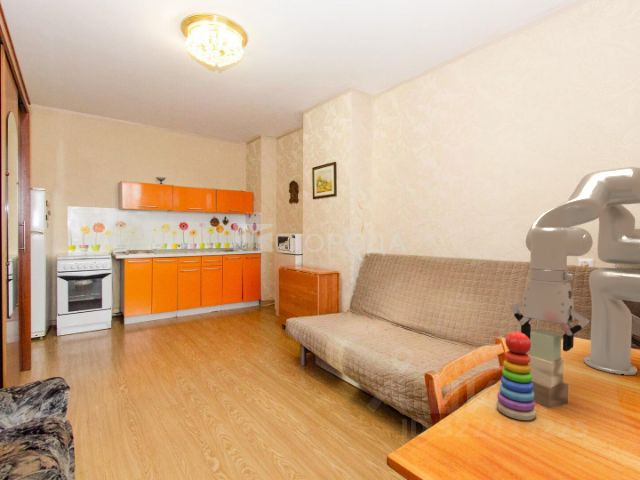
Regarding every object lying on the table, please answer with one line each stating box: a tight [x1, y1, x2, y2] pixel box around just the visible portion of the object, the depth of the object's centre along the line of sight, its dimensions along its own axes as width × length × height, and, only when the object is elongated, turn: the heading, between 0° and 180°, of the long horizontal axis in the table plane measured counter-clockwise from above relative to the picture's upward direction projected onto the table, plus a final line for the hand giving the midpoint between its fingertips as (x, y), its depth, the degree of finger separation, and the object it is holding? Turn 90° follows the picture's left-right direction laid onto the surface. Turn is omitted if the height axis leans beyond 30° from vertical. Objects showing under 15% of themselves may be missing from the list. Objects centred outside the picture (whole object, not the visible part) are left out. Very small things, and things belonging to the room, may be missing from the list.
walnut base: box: [531, 381, 569, 409], centre depth 82 cm, size 7×7×5 cm
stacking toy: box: [496, 331, 537, 421], centre depth 75 cm, size 8×8×19 cm
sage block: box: [529, 329, 562, 362], centre depth 82 cm, size 5×5×6 cm
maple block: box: [527, 353, 565, 388], centre depth 82 cm, size 6×6×6 cm
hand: (545, 344), depth 82 cm, fingers open, 8 cm apart
